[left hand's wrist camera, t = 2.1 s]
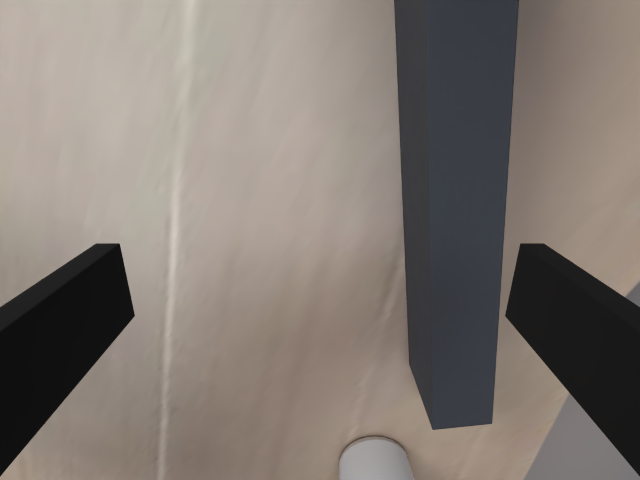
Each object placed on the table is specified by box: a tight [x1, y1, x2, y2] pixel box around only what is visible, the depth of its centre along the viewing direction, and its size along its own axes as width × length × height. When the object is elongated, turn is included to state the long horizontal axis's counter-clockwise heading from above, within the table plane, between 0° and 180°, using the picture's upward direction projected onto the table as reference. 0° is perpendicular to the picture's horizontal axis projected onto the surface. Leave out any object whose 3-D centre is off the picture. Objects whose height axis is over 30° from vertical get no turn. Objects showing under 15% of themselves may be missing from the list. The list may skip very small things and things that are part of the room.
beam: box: [394, 0, 519, 430], centre depth 26 cm, size 50×5×8 cm, turn 7°
